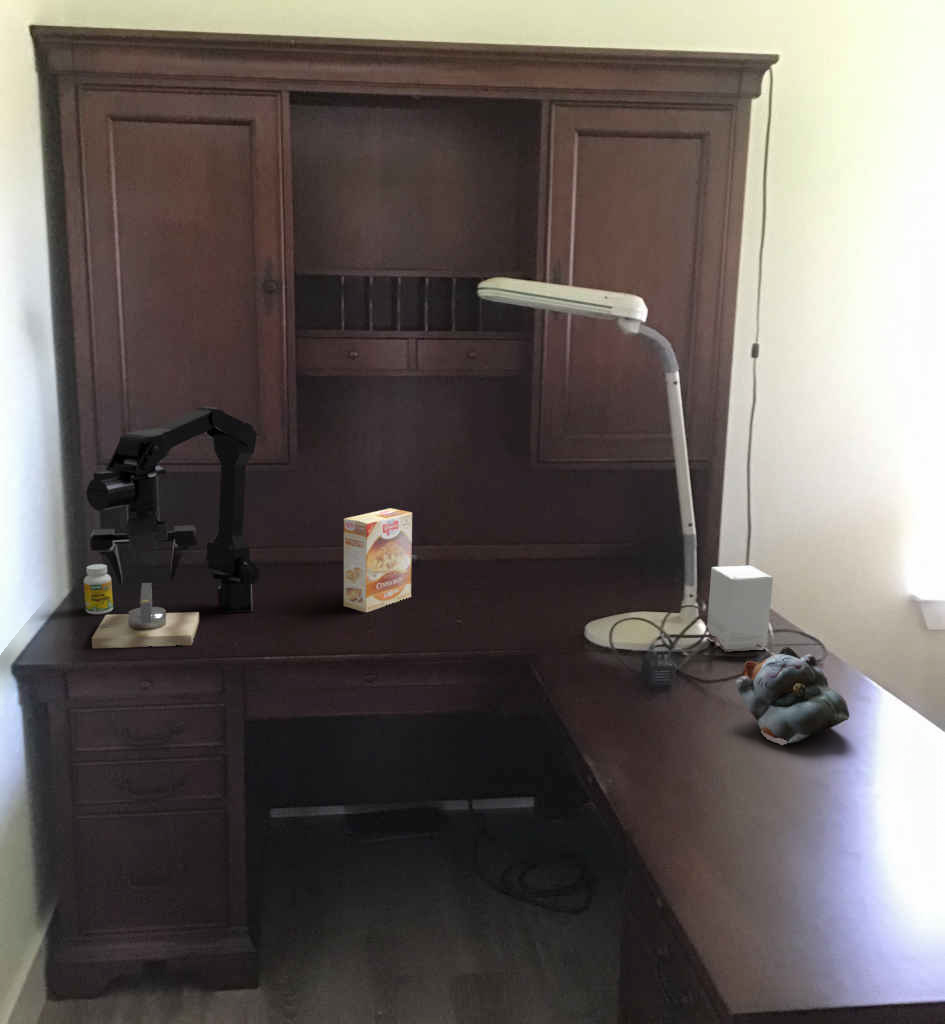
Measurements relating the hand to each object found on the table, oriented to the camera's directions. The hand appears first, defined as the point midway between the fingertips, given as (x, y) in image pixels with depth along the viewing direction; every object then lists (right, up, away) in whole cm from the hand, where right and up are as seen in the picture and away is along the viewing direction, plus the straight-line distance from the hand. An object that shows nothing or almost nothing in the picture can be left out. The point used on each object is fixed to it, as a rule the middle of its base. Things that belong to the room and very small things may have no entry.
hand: (146, 581), depth 191 cm
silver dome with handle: (-2, -9, +6) cm, 11 cm away
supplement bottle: (-16, -8, +20) cm, 27 cm away
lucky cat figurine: (+112, -22, -31) cm, 118 cm away
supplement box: (+113, -13, +8) cm, 115 cm away
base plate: (-2, -11, +6) cm, 12 cm away
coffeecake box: (+41, -7, +30) cm, 51 cm away
